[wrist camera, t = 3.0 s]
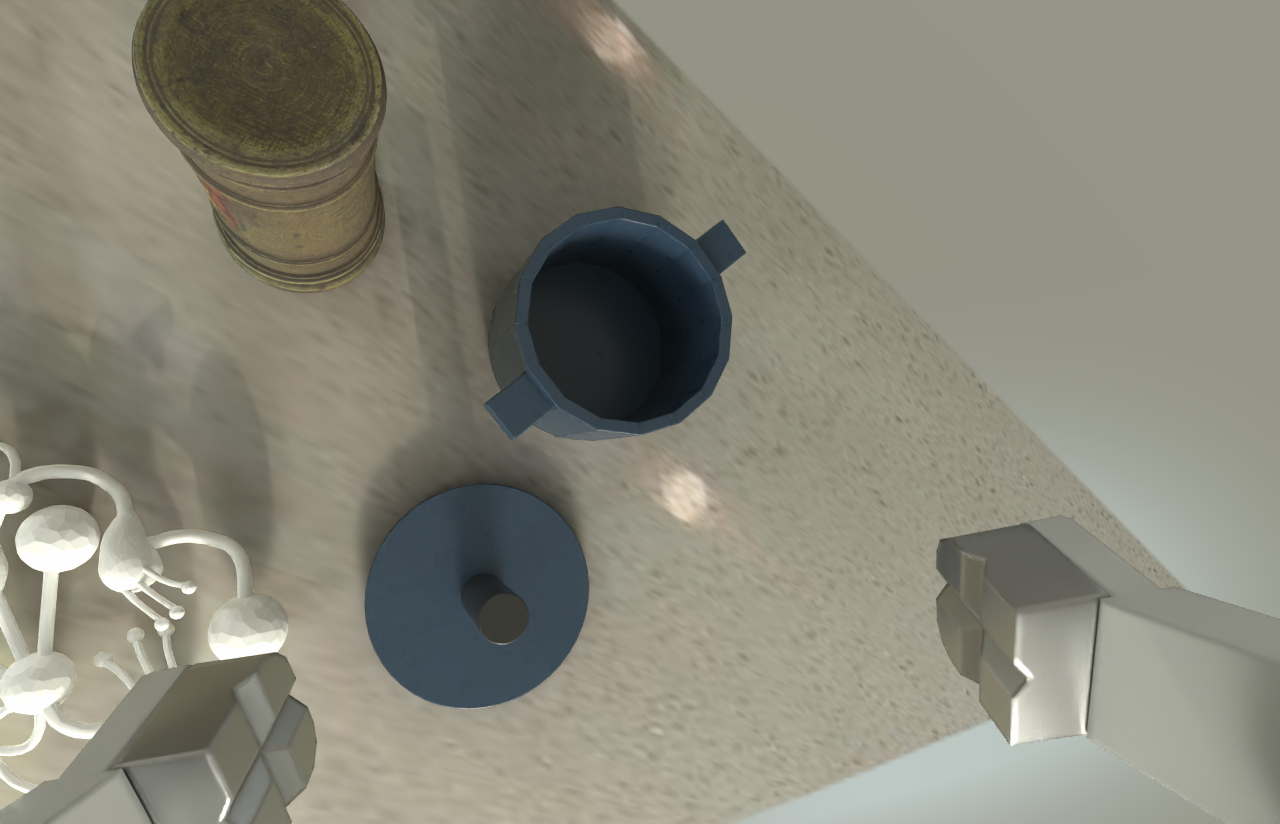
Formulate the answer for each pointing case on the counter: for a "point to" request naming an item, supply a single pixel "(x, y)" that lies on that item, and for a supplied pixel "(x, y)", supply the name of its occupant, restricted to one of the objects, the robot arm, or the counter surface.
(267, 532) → the counter surface
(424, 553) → the lid
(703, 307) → the pot
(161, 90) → the container
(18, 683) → the tangled rod sculpture
